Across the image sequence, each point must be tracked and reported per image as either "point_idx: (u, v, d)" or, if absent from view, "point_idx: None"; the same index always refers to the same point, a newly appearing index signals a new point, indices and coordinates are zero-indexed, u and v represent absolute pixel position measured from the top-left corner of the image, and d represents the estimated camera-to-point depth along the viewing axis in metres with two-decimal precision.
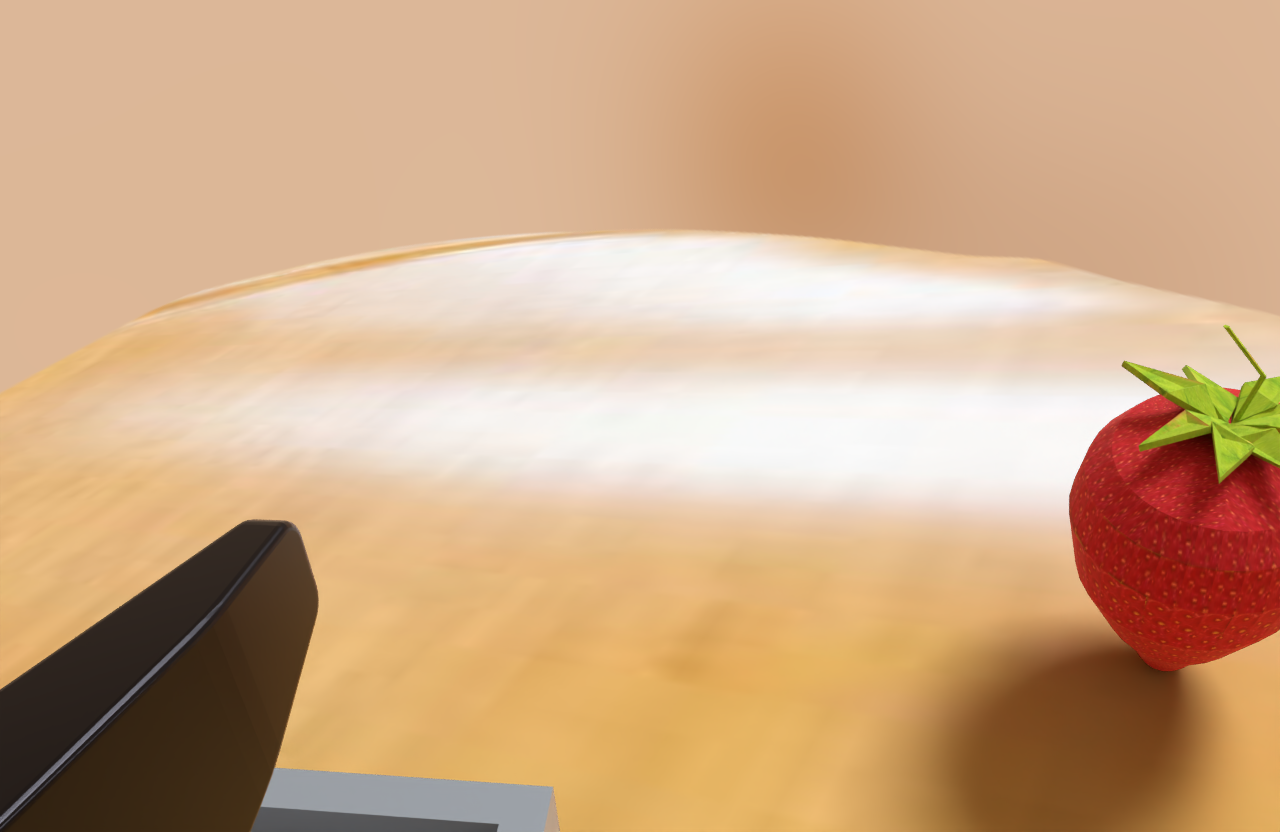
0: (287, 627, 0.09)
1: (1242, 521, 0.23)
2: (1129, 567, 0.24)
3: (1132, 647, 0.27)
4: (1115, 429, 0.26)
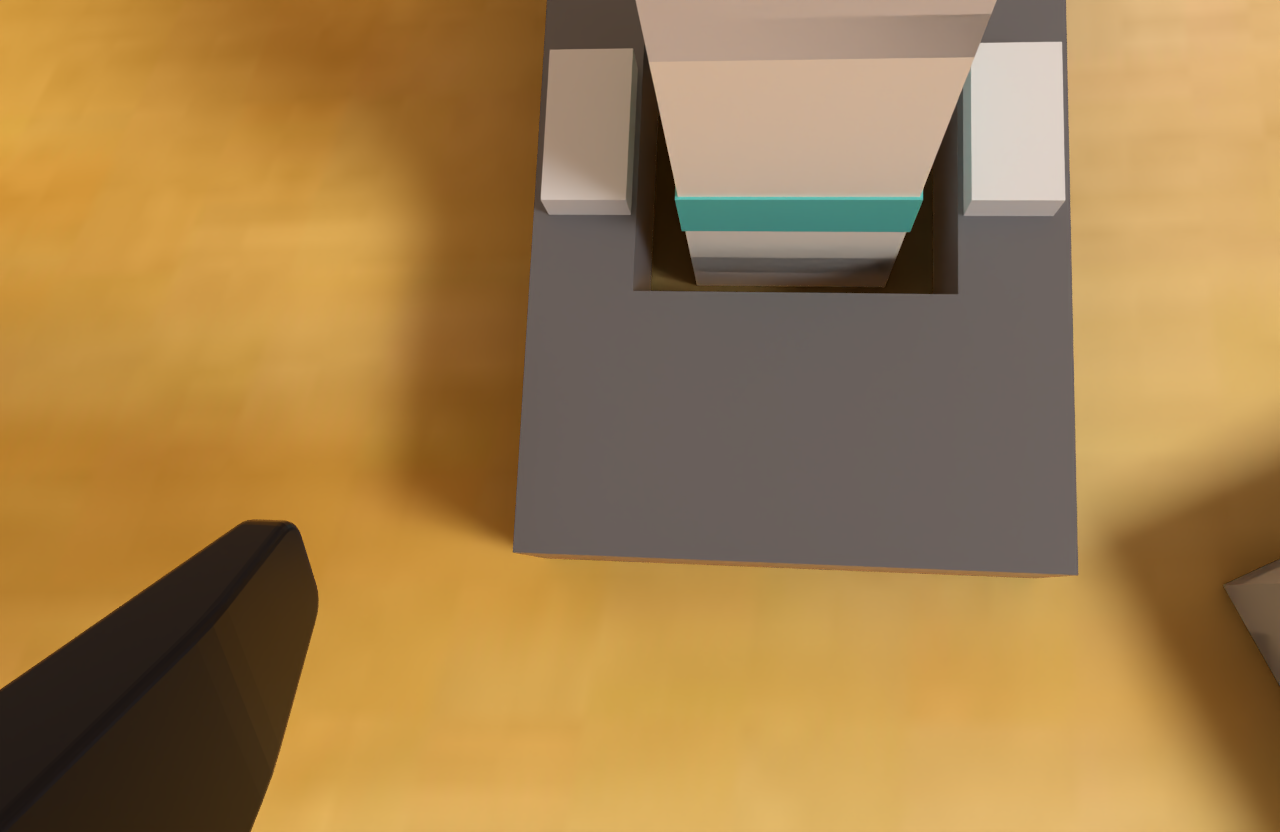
0: (287, 627, 0.09)
1: None
2: None
3: None
4: None
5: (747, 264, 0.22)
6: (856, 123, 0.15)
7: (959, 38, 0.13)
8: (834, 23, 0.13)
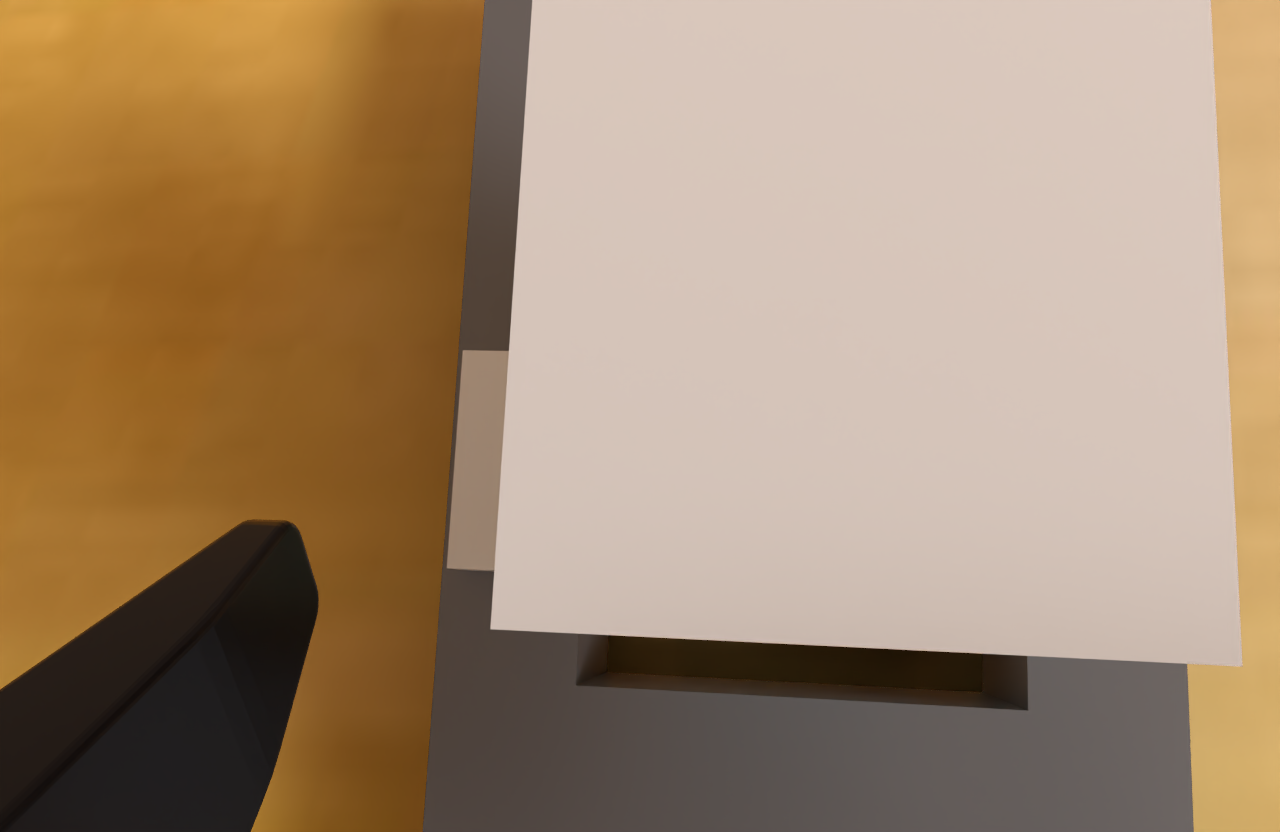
0: (287, 627, 0.09)
1: None
2: None
3: None
4: None
5: None
6: None
7: None
8: None
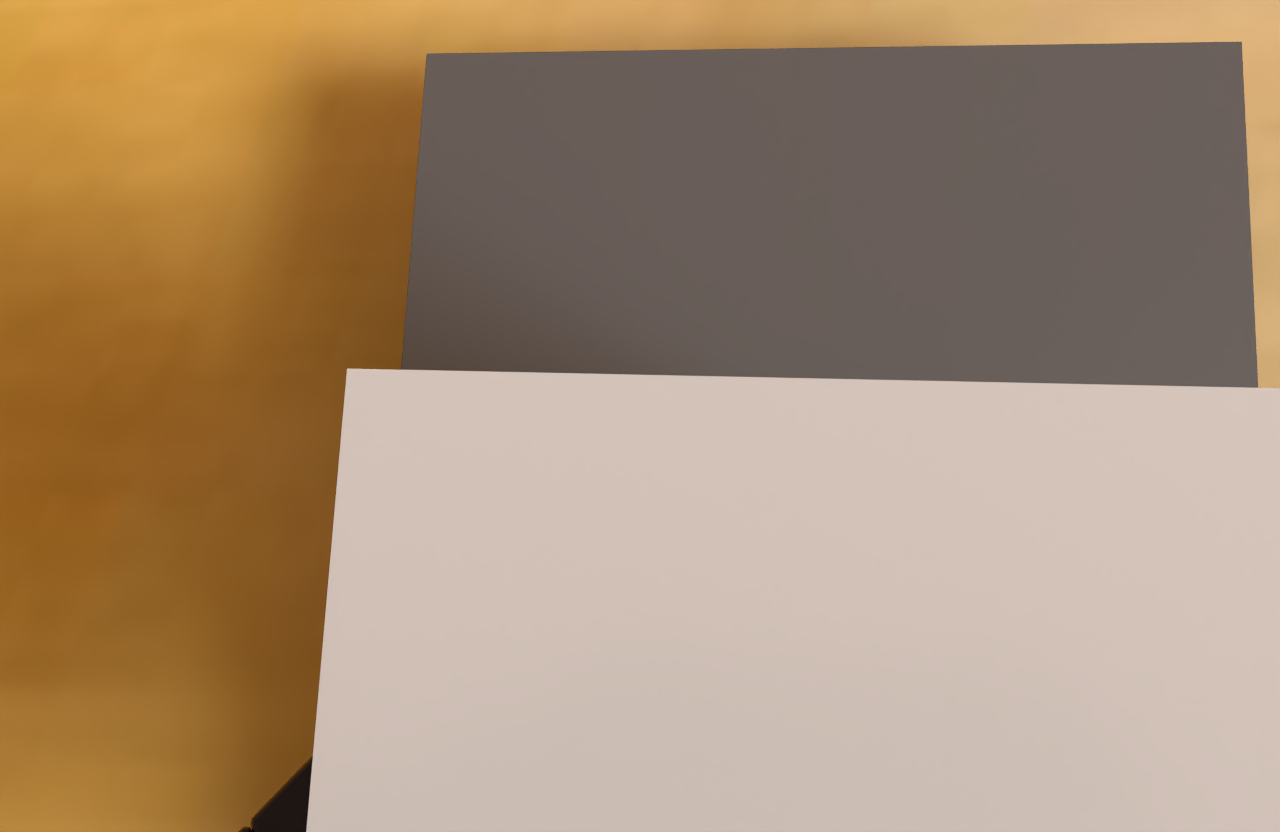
0: None
1: None
2: None
3: None
4: None
5: None
6: None
7: None
8: None
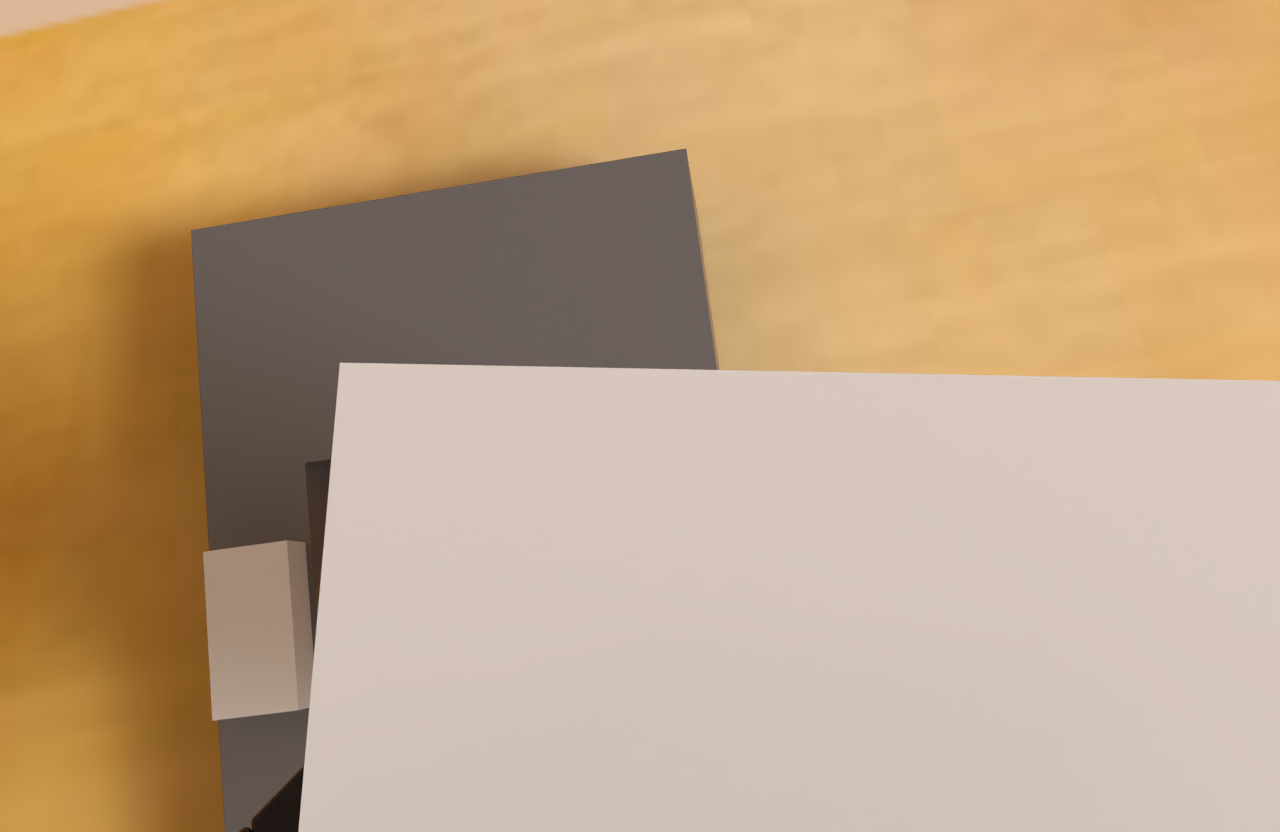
0: None
1: None
2: None
3: None
4: None
5: None
6: None
7: None
8: None
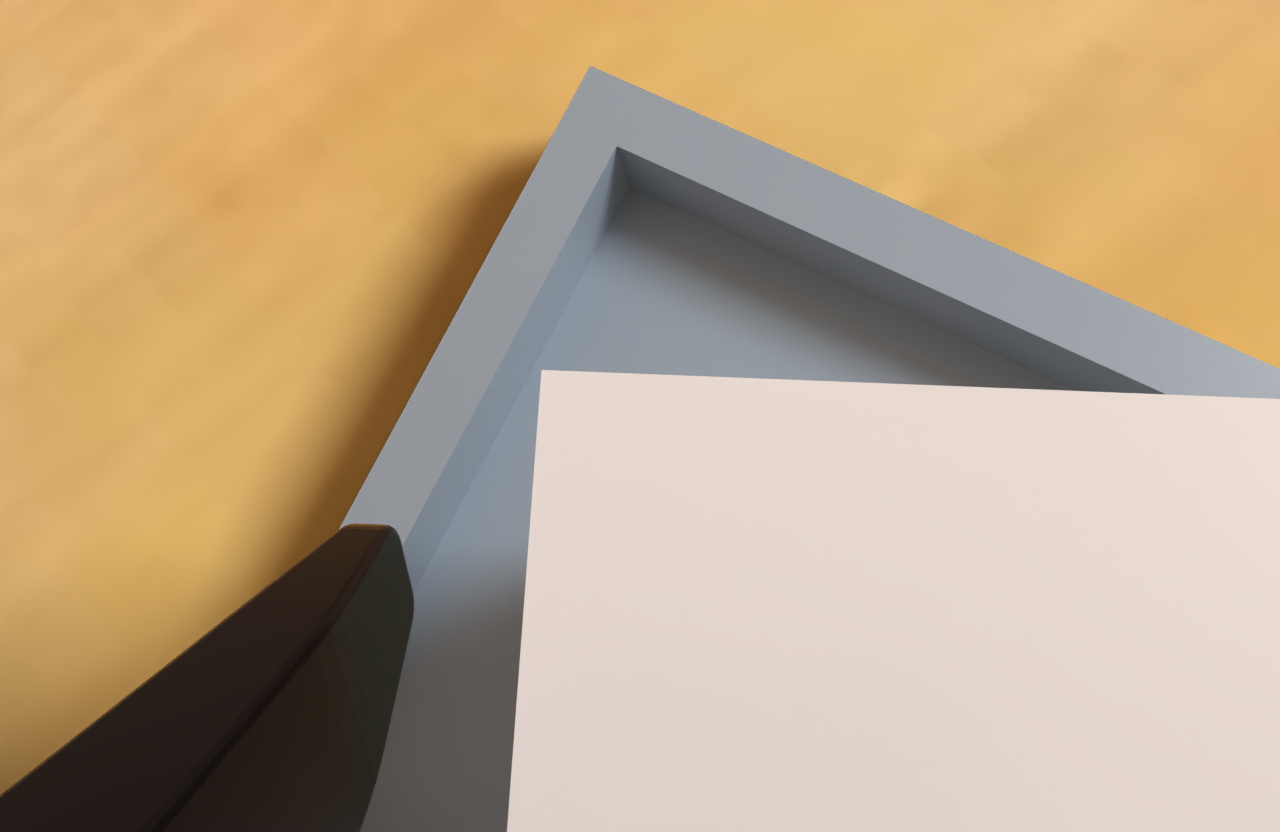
0: (389, 632, 0.09)
1: None
2: None
3: None
4: None
5: None
6: None
7: None
8: None
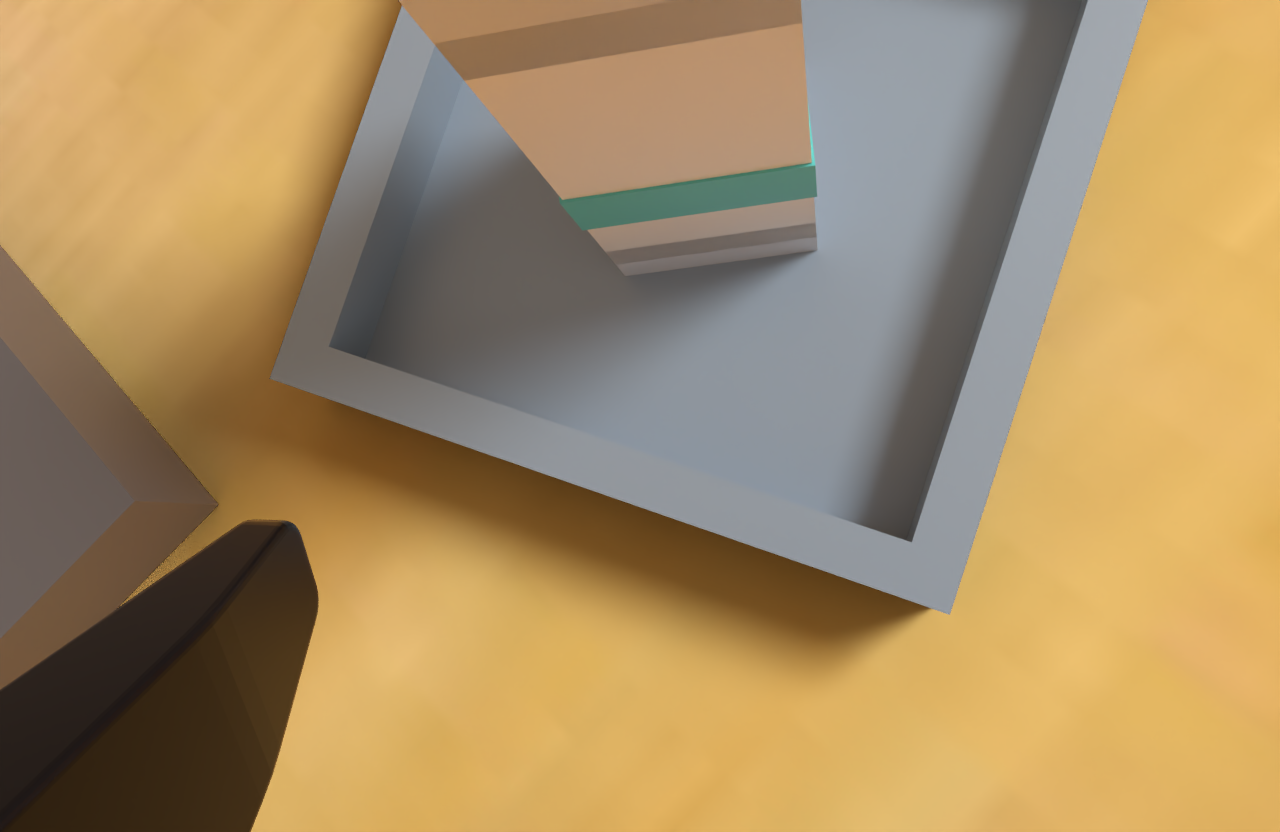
0: (287, 627, 0.09)
1: None
2: None
3: None
4: None
5: (666, 249, 0.21)
6: (710, 105, 0.14)
7: (777, 7, 0.12)
8: (638, 13, 0.12)
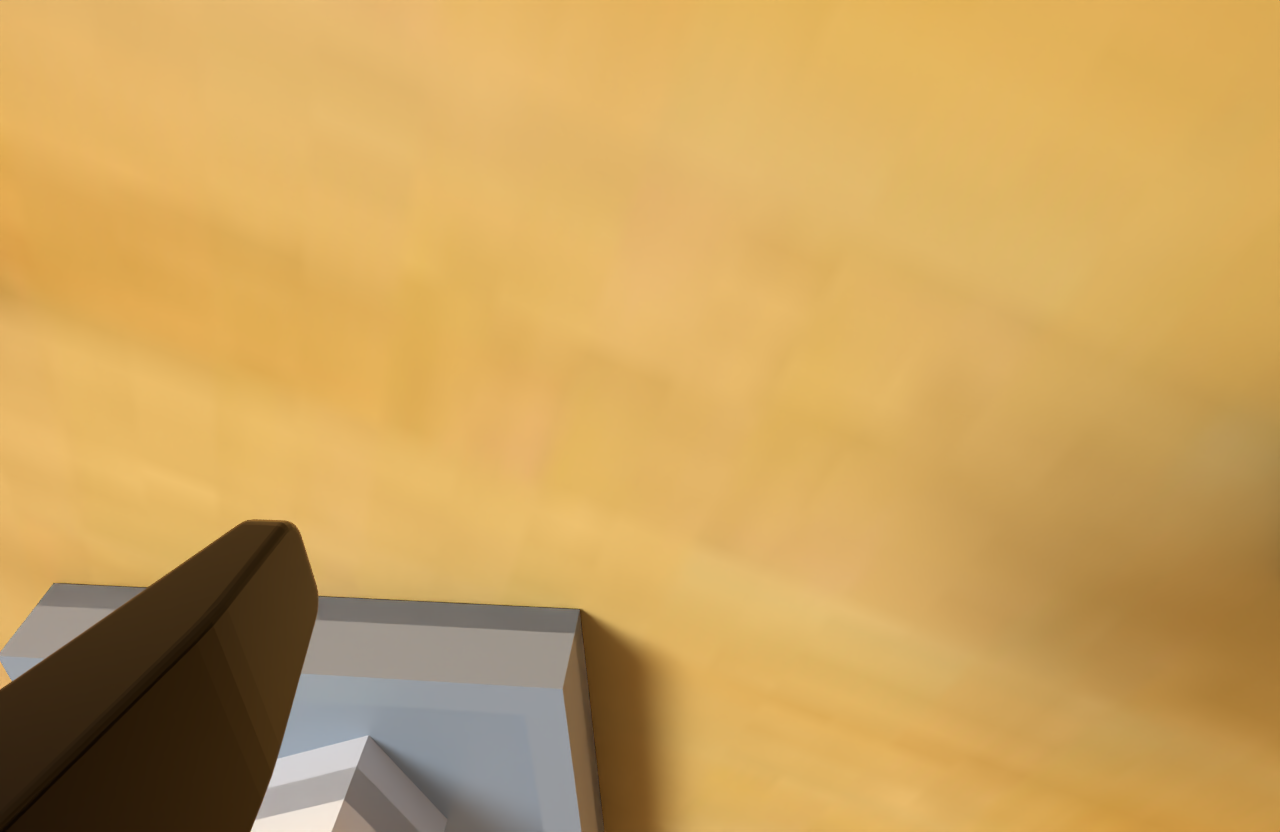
0: (287, 627, 0.09)
1: None
2: None
3: None
4: None
5: None
6: None
7: None
8: None
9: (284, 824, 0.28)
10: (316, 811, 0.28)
